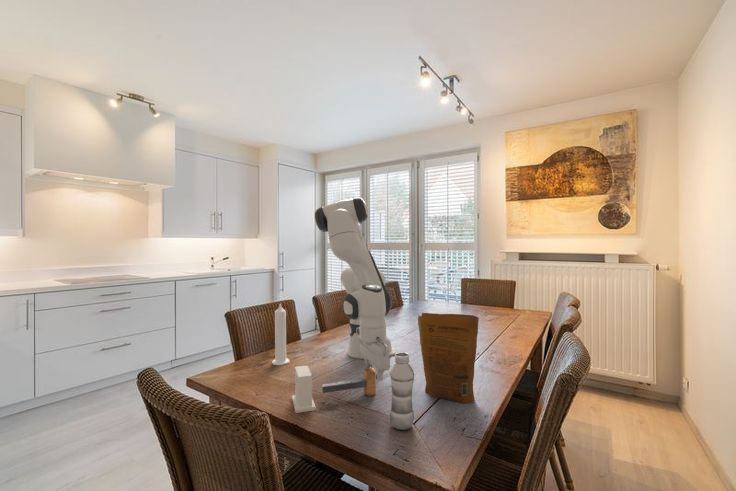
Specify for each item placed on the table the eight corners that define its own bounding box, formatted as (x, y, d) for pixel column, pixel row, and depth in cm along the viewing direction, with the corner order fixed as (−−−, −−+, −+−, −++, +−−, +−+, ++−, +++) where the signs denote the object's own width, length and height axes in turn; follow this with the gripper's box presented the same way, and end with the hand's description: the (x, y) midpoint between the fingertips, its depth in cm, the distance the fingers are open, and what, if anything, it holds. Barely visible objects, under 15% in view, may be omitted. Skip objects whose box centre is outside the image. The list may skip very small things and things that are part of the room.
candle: (285, 366, 142) (284, 305, 141) (269, 365, 143) (268, 304, 142) (292, 360, 148) (291, 302, 148) (276, 359, 150) (276, 301, 149)
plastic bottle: (388, 421, 99) (387, 351, 98) (411, 420, 99) (411, 350, 99) (391, 433, 92) (391, 359, 92) (416, 432, 93) (416, 358, 92)
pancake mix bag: (477, 408, 106) (477, 317, 105) (417, 396, 114) (416, 311, 114) (480, 399, 112) (480, 313, 111) (423, 388, 120) (423, 308, 120)
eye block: (310, 395, 115) (310, 364, 114) (315, 409, 105) (315, 375, 105) (292, 398, 113) (291, 366, 113) (295, 413, 103) (295, 378, 103)
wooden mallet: (372, 390, 118) (372, 367, 118) (375, 394, 115) (375, 370, 115) (321, 398, 112) (321, 374, 112) (323, 402, 109) (322, 377, 109)
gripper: (394, 341, 107) (395, 385, 108) (371, 325, 126) (371, 362, 127) (375, 343, 105) (376, 388, 105) (354, 327, 124) (355, 365, 125)
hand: (373, 374), depth 116 cm, fingers open, 8 cm apart
